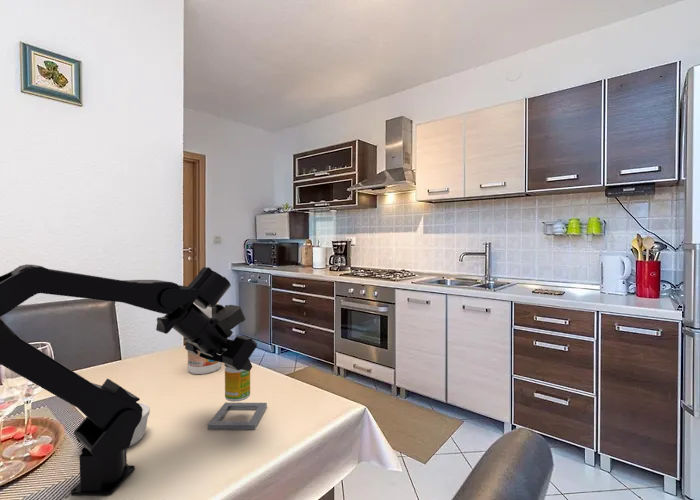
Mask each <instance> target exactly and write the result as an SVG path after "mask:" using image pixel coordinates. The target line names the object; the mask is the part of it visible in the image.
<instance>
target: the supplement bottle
mask: <svg viewBox="0 0 700 500" xmlns="http://www.w3.org/2000/svg"><path fill="white" fill-rule="evenodd" d="M250 396H251V370H250V371H247V370H239V371H238V370H235V369H232V368H229V367H226V366H224V398H225V400H226V401H229V402H231V403H237V402H242V401H245V400H247V399H249V398H250Z"/></svg>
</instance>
